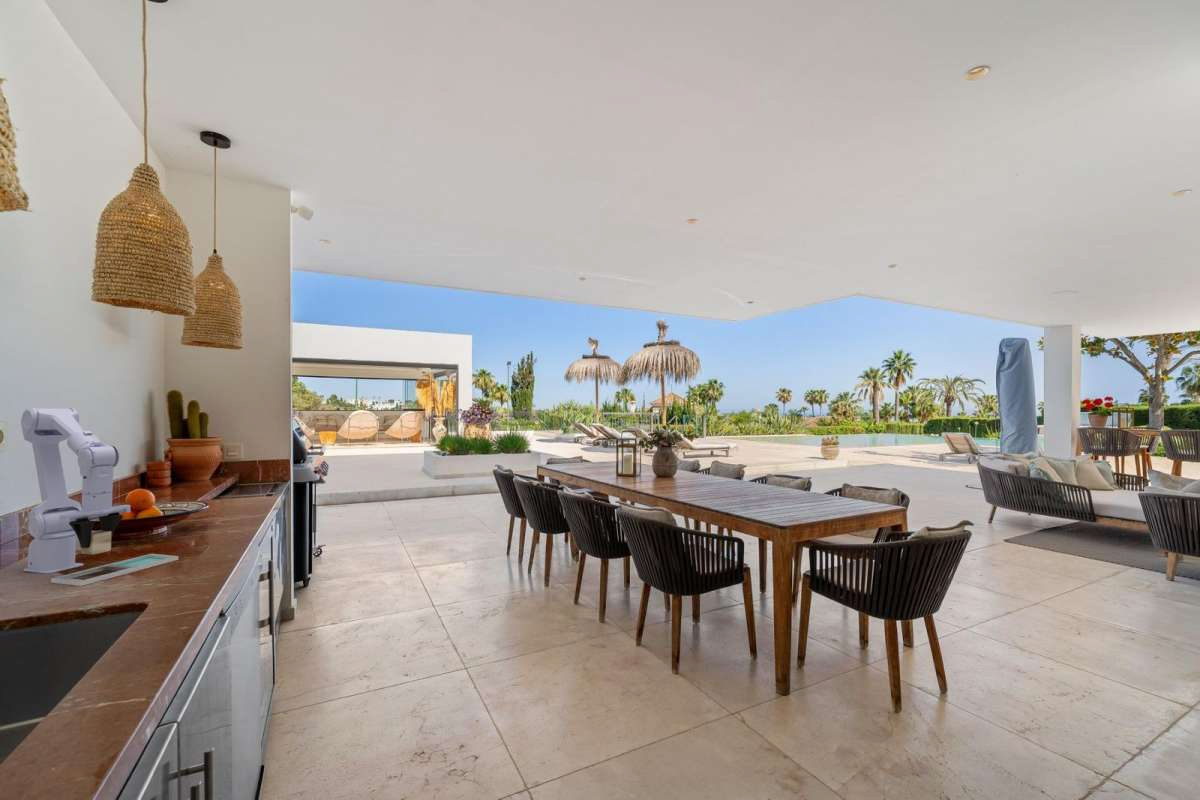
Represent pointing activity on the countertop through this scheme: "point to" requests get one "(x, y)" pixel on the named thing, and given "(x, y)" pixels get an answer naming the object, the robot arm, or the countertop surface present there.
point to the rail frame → (115, 569)
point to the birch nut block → (98, 542)
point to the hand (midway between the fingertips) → (95, 545)
